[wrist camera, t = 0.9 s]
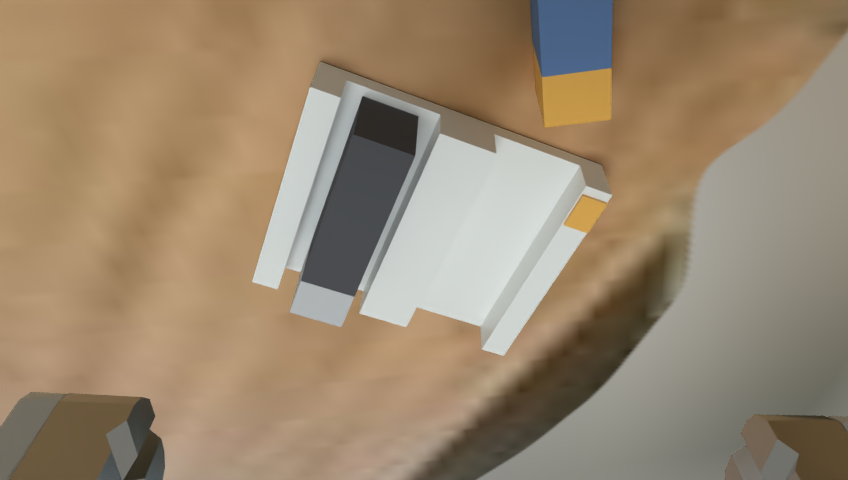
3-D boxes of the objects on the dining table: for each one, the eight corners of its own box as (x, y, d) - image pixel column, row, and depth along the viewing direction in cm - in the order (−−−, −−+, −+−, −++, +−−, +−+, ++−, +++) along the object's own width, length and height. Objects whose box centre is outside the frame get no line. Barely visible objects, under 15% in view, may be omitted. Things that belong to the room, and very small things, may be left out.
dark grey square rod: (362, 95, 33) (353, 134, 30) (418, 116, 33) (415, 156, 30) (302, 266, 40) (289, 312, 37) (349, 280, 40) (341, 327, 37)
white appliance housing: (320, 61, 33) (309, 88, 30) (601, 164, 36) (612, 197, 33) (263, 249, 40) (251, 284, 38) (500, 321, 43) (503, 358, 41)
